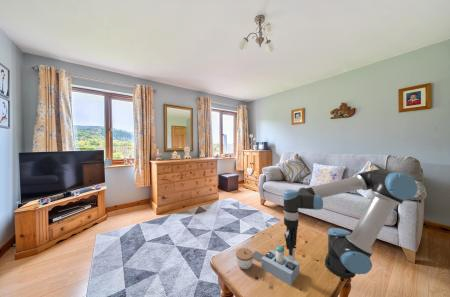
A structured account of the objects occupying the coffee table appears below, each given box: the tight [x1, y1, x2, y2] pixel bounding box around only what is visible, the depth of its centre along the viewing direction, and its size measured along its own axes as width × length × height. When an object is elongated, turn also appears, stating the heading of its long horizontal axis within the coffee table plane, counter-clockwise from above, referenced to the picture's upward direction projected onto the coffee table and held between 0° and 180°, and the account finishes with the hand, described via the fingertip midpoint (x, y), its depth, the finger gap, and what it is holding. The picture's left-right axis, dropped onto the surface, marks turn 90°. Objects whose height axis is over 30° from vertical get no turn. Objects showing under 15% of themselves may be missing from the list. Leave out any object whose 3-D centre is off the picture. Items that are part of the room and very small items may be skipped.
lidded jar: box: [235, 247, 254, 270], centre depth 101 cm, size 11×11×9 cm
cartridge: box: [275, 245, 285, 266], centre depth 97 cm, size 5×5×11 cm
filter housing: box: [260, 249, 300, 286], centre depth 97 cm, size 12×18×6 cm, turn 46°
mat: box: [253, 250, 265, 262], centre depth 109 cm, size 7×7×1 cm
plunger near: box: [288, 262, 294, 271], centre depth 92 cm, size 3×3×4 cm
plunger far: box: [266, 251, 272, 259], centre depth 101 cm, size 3×3×4 cm
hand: (291, 259), depth 92 cm, fingers closed
